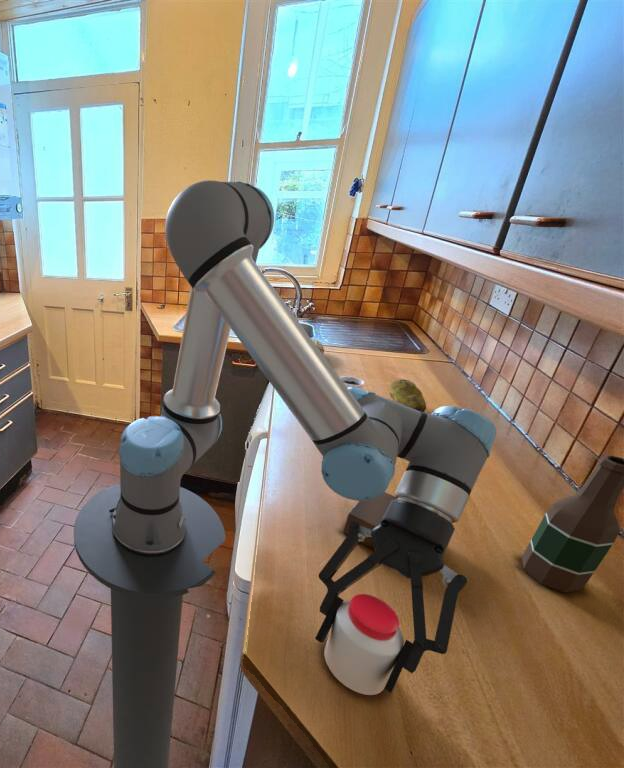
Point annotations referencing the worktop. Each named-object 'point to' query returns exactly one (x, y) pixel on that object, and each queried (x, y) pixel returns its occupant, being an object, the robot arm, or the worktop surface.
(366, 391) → the robot arm
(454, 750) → the worktop surface
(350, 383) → the white cup
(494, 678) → the worktop surface
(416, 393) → the avocado
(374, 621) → the pill bottle
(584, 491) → the beer bottle
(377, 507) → the walnut block
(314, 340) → the tan rock
